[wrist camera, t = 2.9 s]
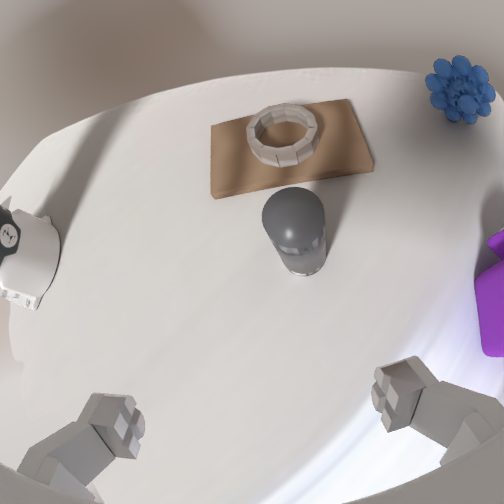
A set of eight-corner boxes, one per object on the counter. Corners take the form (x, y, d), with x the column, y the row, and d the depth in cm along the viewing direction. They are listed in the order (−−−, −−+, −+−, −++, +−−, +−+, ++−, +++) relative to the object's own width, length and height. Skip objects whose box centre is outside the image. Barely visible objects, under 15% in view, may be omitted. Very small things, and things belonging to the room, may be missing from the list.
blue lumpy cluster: (423, 134, 31) (440, 67, 20) (415, 102, 33) (426, 39, 22) (489, 148, 28) (518, 92, 17) (478, 115, 30) (499, 60, 19)
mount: (215, 199, 36) (202, 183, 32) (214, 132, 40) (204, 114, 36) (372, 171, 32) (375, 151, 28) (347, 106, 36) (346, 86, 32)
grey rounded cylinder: (284, 279, 30) (264, 248, 21) (280, 237, 32) (259, 193, 23) (329, 272, 29) (329, 238, 20) (322, 230, 31) (318, 182, 22)
